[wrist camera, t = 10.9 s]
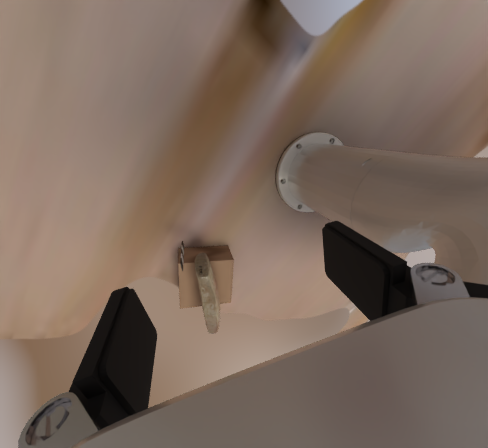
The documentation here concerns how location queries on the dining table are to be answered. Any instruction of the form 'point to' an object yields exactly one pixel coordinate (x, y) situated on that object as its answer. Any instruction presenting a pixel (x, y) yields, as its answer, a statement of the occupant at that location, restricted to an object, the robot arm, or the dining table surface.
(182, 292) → the tan box
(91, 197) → the dining table surface
